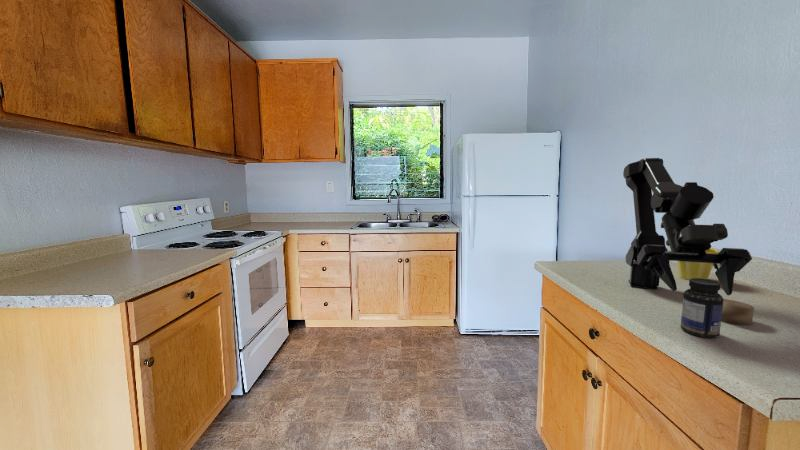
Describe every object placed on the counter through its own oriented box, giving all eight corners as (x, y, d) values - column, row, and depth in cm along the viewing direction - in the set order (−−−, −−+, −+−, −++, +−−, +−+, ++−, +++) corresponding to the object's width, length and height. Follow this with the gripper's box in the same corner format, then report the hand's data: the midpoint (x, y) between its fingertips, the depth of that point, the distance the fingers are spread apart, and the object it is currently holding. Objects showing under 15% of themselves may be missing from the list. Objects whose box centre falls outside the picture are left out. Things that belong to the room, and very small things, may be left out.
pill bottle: (709, 328, 71) (715, 278, 70) (726, 341, 65) (733, 287, 64) (674, 324, 73) (679, 276, 72) (688, 336, 67) (693, 284, 66)
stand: (714, 321, 74) (716, 306, 74) (705, 310, 80) (706, 296, 80) (758, 327, 71) (760, 312, 70) (744, 316, 77) (746, 301, 77)
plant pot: (683, 282, 102) (687, 251, 101) (665, 273, 112) (668, 245, 111) (723, 284, 100) (727, 252, 99) (701, 274, 110) (704, 246, 109)
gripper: (645, 209, 75) (662, 269, 66) (751, 210, 69) (786, 276, 60) (631, 238, 83) (644, 294, 74) (724, 241, 77) (750, 303, 68)
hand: (701, 292), depth 69 cm, fingers open, 9 cm apart
